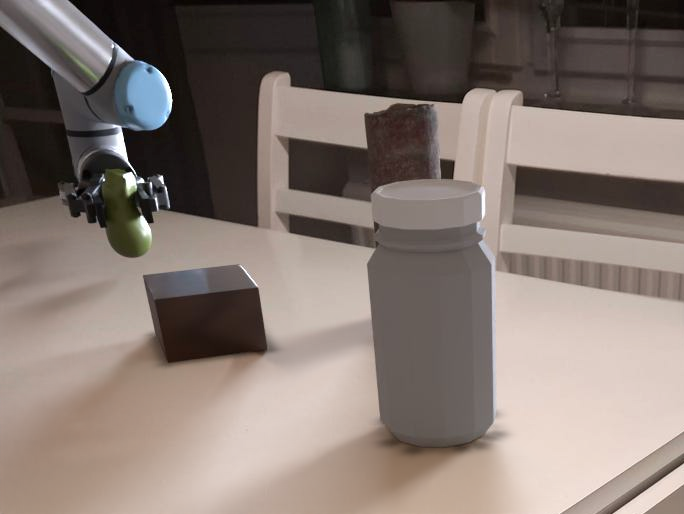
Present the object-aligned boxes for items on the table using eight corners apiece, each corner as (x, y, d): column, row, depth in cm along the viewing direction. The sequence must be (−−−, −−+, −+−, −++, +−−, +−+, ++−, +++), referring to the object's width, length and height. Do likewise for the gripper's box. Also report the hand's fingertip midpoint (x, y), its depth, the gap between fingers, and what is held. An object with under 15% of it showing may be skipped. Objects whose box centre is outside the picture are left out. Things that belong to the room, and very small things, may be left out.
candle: (403, 332, 105) (388, 110, 93) (367, 316, 110) (348, 103, 98) (462, 318, 109) (455, 102, 96) (425, 303, 113) (414, 95, 101)
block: (167, 363, 99) (154, 299, 95) (155, 335, 106) (142, 274, 103) (267, 349, 102) (258, 287, 98) (249, 322, 109) (239, 263, 105)
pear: (120, 252, 130) (101, 164, 124) (160, 251, 130) (143, 164, 124) (106, 262, 126) (86, 172, 120) (148, 262, 126) (130, 172, 120)
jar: (410, 401, 89) (395, 174, 78) (513, 414, 86) (513, 179, 75) (361, 442, 82) (337, 198, 71) (471, 458, 79) (464, 206, 68)
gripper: (179, 205, 142) (205, 239, 125) (47, 217, 137) (55, 254, 120) (168, 145, 138) (194, 171, 121) (31, 155, 133) (37, 184, 116)
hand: (124, 213), depth 120 cm, fingers closed on pear, 5 cm apart
